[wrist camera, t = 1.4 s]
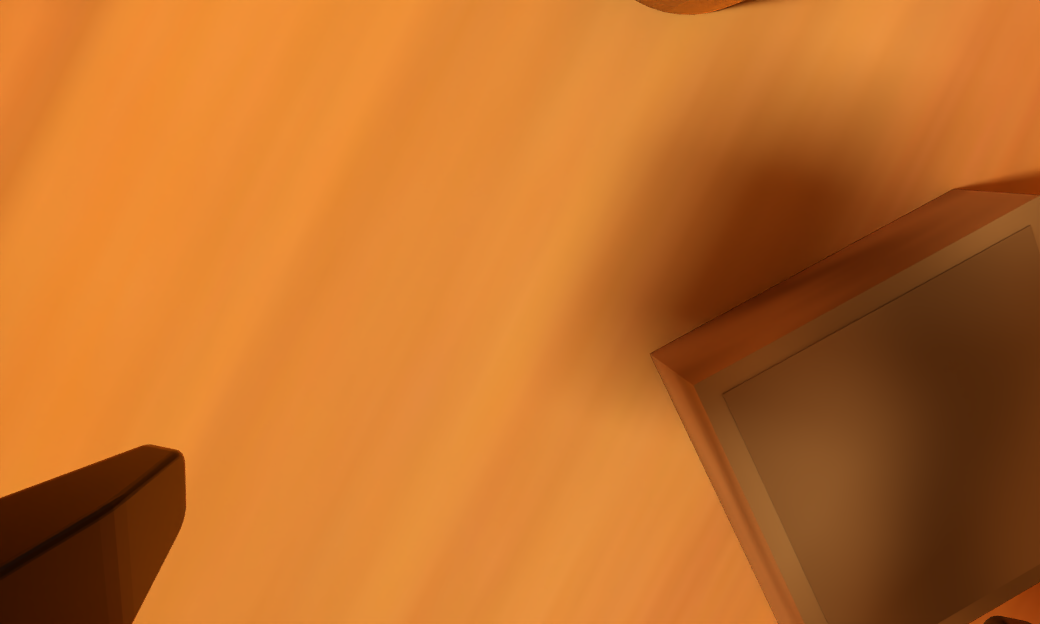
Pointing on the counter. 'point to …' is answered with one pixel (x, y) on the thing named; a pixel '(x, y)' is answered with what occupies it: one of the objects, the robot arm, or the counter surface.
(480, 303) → the counter surface
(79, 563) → the robot arm
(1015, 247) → the stand
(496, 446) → the counter surface
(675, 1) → the canister
